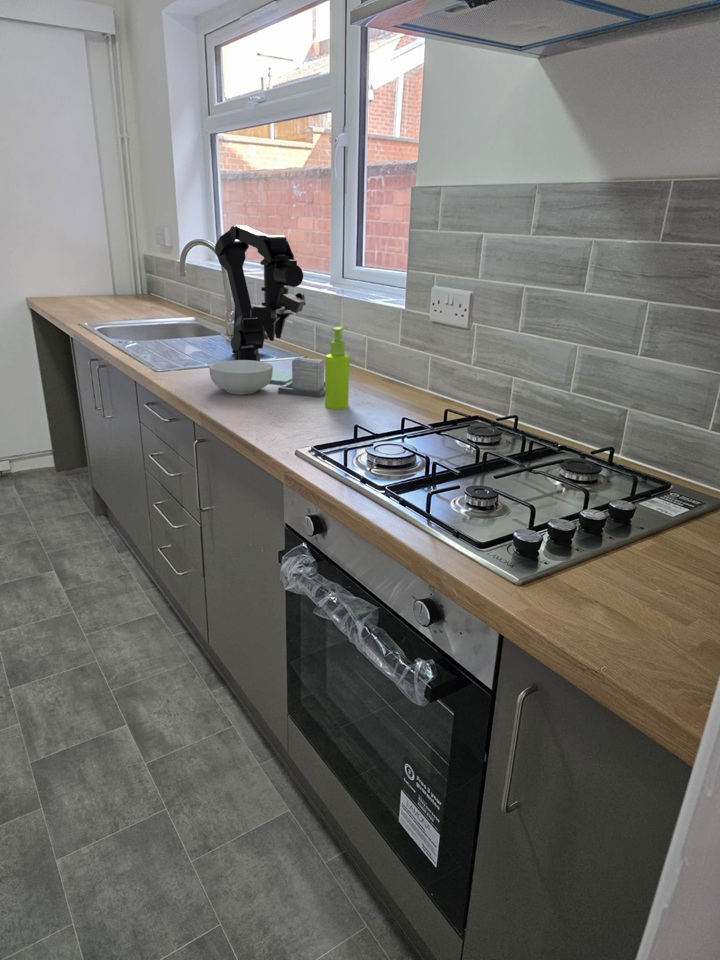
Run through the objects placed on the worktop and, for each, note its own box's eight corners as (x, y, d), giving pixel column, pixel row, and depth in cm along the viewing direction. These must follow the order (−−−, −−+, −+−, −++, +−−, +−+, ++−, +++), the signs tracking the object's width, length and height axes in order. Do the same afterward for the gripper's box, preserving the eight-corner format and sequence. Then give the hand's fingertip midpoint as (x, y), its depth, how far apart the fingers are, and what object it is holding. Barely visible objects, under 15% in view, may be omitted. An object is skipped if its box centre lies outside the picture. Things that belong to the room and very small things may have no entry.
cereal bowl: (285, 392, 177) (285, 366, 175) (236, 402, 166) (235, 375, 163) (247, 380, 188) (246, 356, 185) (198, 389, 176) (196, 364, 174)
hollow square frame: (278, 393, 176) (278, 387, 175) (296, 383, 186) (296, 378, 186) (320, 398, 172) (320, 392, 172) (336, 388, 183) (336, 382, 182)
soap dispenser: (352, 404, 168) (355, 326, 160) (343, 411, 162) (345, 330, 154) (331, 402, 169) (332, 324, 162) (321, 408, 163) (322, 328, 156)
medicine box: (324, 390, 180) (324, 359, 177) (318, 394, 176) (318, 362, 173) (298, 387, 182) (298, 356, 179) (291, 391, 179) (291, 359, 175)
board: (248, 380, 188) (247, 377, 187) (266, 372, 198) (266, 368, 198) (285, 385, 184) (285, 381, 184) (302, 376, 195) (302, 373, 194)
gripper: (286, 288, 171) (287, 347, 177) (314, 282, 187) (313, 337, 193) (248, 285, 174) (250, 343, 180) (278, 279, 190) (279, 333, 196)
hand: (275, 339), depth 187 cm, fingers open, 4 cm apart
